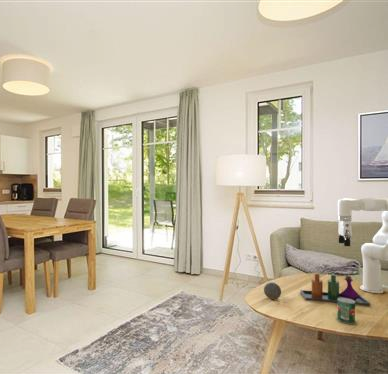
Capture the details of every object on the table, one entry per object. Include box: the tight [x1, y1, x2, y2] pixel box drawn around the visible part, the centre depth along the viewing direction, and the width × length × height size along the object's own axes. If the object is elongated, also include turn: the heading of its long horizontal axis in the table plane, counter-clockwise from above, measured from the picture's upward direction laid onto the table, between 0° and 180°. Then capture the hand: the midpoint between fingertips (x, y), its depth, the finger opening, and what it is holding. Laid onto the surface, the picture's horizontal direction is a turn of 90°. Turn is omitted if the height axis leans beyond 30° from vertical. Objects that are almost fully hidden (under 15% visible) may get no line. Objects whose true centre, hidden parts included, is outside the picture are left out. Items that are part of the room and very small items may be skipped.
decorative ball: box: [263, 282, 282, 300], centre depth 190 cm, size 10×10×10 cm
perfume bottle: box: [339, 269, 361, 301], centre depth 185 cm, size 8×8×18 cm
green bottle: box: [327, 273, 340, 300], centre depth 187 cm, size 6×6×15 cm
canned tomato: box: [336, 297, 356, 325], centre depth 160 cm, size 8×8×11 cm
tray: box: [300, 289, 371, 307], centre depth 188 cm, size 34×14×2 cm, turn 74°
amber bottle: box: [311, 272, 324, 299], centre depth 190 cm, size 6×6×15 cm
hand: (344, 244), depth 197 cm, fingers open, 9 cm apart
